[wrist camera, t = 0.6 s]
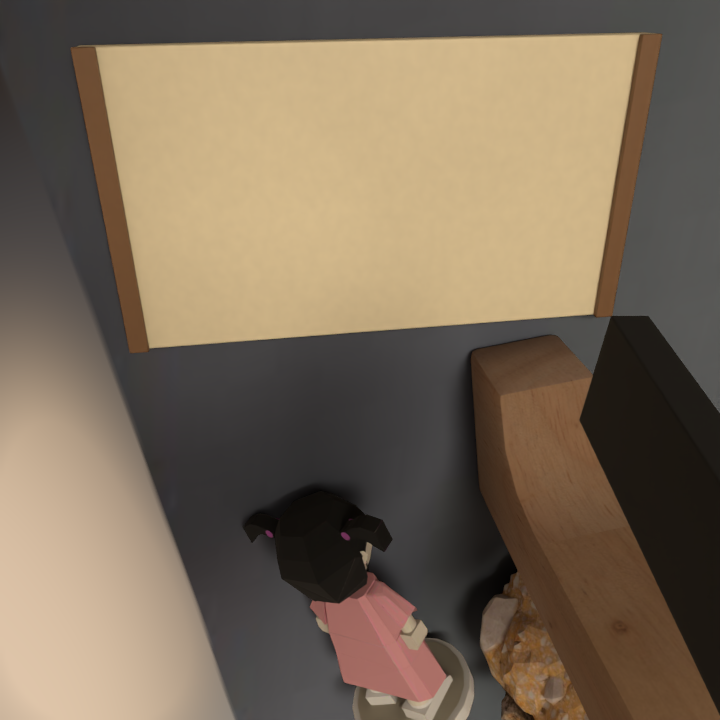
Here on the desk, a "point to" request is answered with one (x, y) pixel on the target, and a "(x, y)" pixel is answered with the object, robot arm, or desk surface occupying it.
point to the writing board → (364, 180)
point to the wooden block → (576, 538)
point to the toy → (366, 613)
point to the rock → (526, 659)
